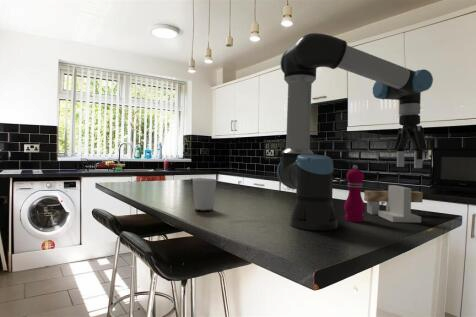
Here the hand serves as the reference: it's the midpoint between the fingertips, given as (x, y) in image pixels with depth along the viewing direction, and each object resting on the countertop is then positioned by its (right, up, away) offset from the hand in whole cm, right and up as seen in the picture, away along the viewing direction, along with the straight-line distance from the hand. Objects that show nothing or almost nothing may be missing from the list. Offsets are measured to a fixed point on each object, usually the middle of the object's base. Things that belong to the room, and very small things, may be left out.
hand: (408, 167), depth 130 cm
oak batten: (-6, -14, 0) cm, 15 cm away
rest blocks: (-10, -19, 0) cm, 21 cm away
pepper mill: (-28, -19, -15) cm, 36 cm away
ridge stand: (-10, -19, -11) cm, 24 cm away
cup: (-83, -18, +1) cm, 85 cm away
